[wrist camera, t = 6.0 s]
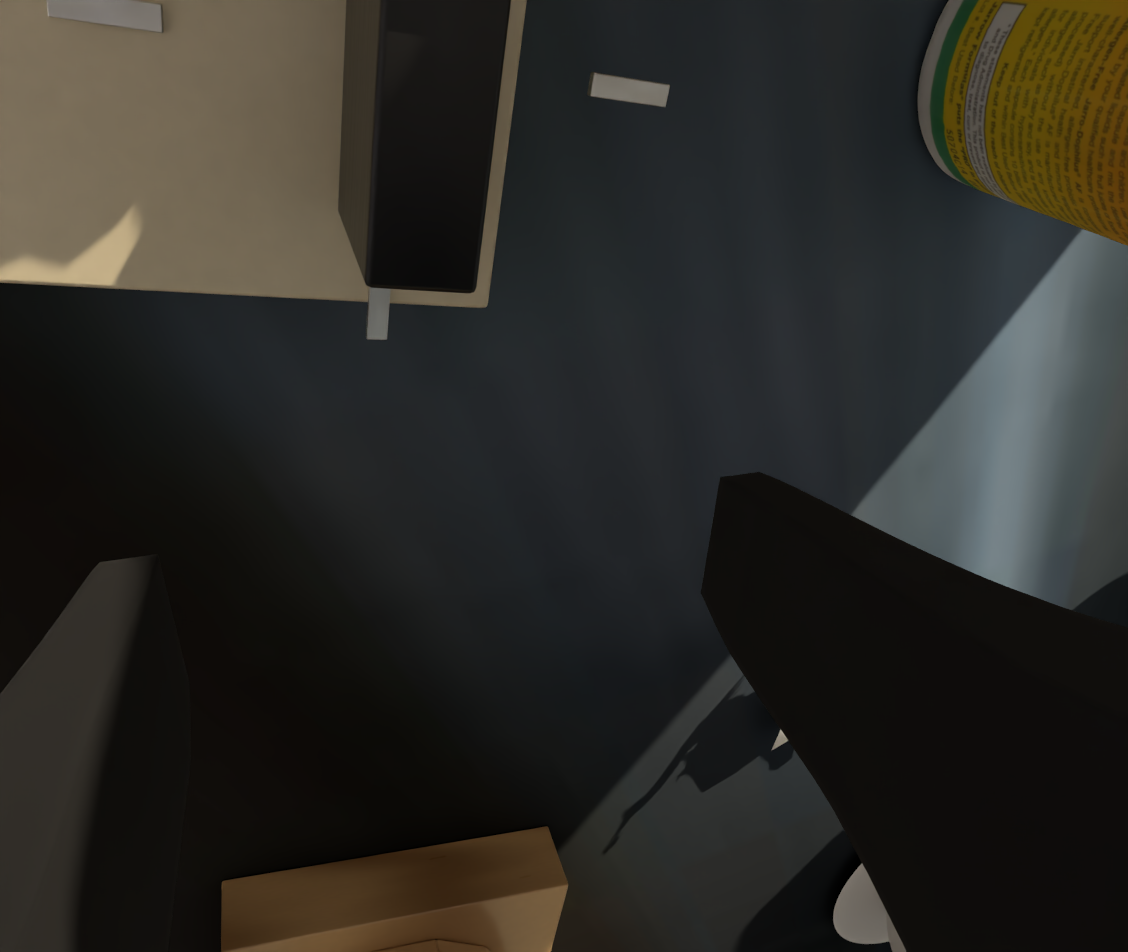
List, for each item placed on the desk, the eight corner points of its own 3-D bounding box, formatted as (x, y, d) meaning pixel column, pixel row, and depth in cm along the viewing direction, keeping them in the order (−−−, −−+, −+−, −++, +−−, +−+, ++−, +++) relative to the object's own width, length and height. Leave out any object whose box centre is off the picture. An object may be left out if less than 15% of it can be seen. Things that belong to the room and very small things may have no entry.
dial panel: (-125, 261, 15) (-186, 318, 12) (-296, -506, 10) (-435, -619, 8) (572, 301, 19) (615, 348, 17) (665, -222, 15) (739, -247, 12)
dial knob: (428, 223, 15) (481, 302, 12) (337, 215, 14) (367, 295, 11) (460, -133, 12) (538, -151, 9) (351, -157, 12) (394, -188, 9)
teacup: (797, 882, 36) (864, 995, 32) (1000, 749, 35) (1092, 847, 32) (863, 958, 42) (925, 1061, 38) (1038, 845, 41) (1118, 937, 38)
